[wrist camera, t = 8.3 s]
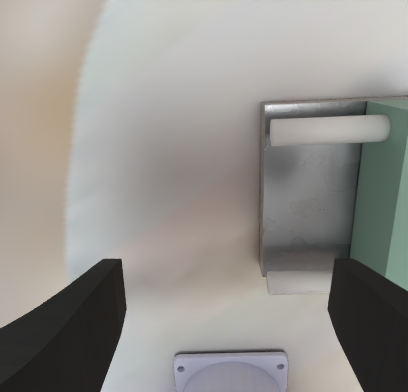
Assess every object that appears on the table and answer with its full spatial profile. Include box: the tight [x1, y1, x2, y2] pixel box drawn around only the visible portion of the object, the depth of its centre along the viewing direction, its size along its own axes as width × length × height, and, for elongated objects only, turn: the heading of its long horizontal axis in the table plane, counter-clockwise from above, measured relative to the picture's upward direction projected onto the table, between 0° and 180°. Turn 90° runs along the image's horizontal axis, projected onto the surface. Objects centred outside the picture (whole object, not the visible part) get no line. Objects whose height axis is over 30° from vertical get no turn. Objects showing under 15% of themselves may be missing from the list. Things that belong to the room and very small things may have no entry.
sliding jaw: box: [267, 99, 408, 295], centre depth 17 cm, size 10×7×4 cm
